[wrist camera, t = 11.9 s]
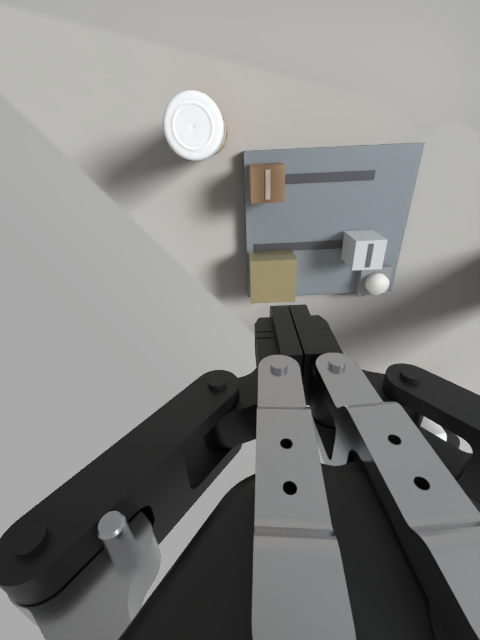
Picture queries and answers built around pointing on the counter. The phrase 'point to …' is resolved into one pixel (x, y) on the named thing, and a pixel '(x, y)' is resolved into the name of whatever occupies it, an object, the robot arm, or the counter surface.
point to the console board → (334, 211)
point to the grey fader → (363, 250)
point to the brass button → (272, 276)
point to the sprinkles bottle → (194, 126)
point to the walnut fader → (266, 182)
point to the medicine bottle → (440, 432)
